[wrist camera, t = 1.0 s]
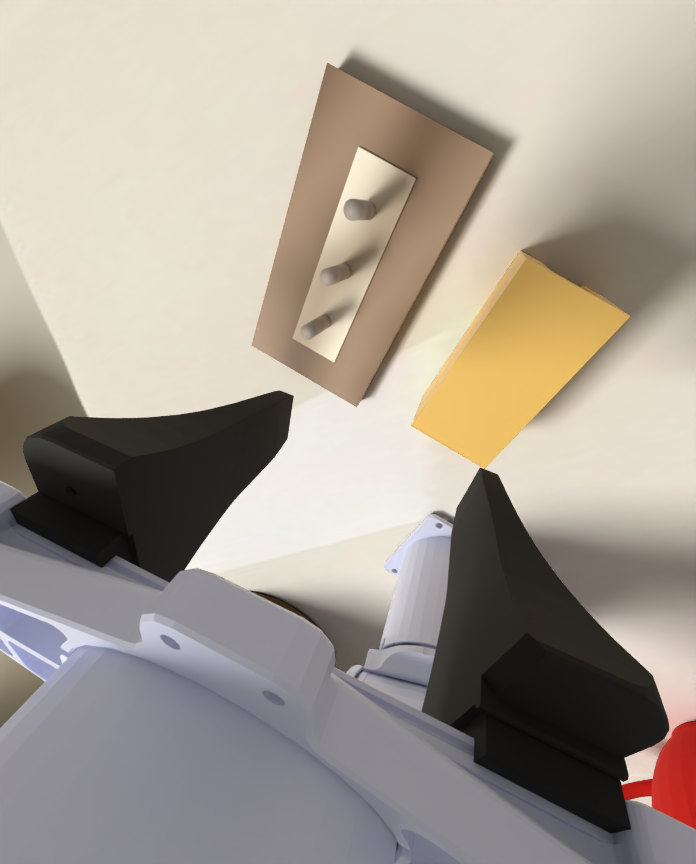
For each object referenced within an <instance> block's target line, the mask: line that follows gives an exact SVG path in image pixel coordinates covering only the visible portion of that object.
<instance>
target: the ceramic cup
mask: <svg viewBox="0 0 696 864" xmlns="http://www.w3.org/2000/svg"><path fill="white" fill-rule="evenodd" d="M621 786H622V790H623V794H624V799H625V800H631V799H634V798H639V797H645V796H652V808H654V809H656V810H658V811H660V812H662V813H664V814H666V815H668V816H670V817H672V818H674V819H676V820H678V821H680V822H682V823H684V824H686V825H688V826H690V827H692V828H694V829H696V721H695V722H689V723H685V724H682V725H680V726H678V727H676V728H675V729H674V731H673V733H672V737H671V738H670V739H669V740H668V742H667V743H666V744H665V746H664V747H663V749H662V751H661V752H660V754H659V757H658V759H657V763H656V766H655V770H654V775H653V779H648V780H642V781H637V782H632V783H628V784H624V785H621Z"/></svg>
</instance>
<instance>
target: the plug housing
mask: <svg viewBox="0 0 696 864" xmlns="http://www.w3.org/2000/svg"><path fill="white" fill-rule="evenodd" d="M630 317H631V316H630V315H628V314H627V313H626V312H624V311H623V310H621V309H620V308H619V307H617V306H616V305H615V304H613V303H612V302H610V301H609V300H608V299H606V298H605V297H603V296H601V295H600V294H598V293H596V292H594V291H592V290H591V289H589V288H587V287H585V286H583V285H582V286H581V287H579V286H578V285H576V284H574V283H572V282H570V281H569V280H567V279H565V278H563V277H561V276H560V275H558V274H556V273H554V272H552V271H551V270H549V269H548V268H547V267H546V266H545V265H544V264H543V263H542V262H540V261H538V260H536V259H535V258H533V257H531V256H529V255H527V254H526V253H524V252H522V251H520V252H519V253H518V255H517V256H516V258H515V259H514V261H513V262H512V264H511V265H510V267H509V268H508V270H507V271H506V273H505V274H504V276H503V277H502V279H501V280H500V282H499V283H498V285H497V286H496V288H495V289H494V291H493V292H492V293H491V295H490V296H489V298H488V299H487V301H486V302H485V304H484V305H483V307H482V308H481V310H480V311H479V313H478V314H477V316H476V317H475V319H474V320H473V322H472V323H471V325H470V326H469V328H468V329H467V331H466V332H465V334H464V335H463V337H462V338H461V340H460V341H459V343H458V344H457V346H456V347H455V349H454V350H453V352H452V353H451V355H450V356H449V358H448V359H447V361H446V362H445V364H444V365H443V367H442V368H441V370H440V371H439V373H438V374H437V375H436V377H435V378H434V380H433V381H432V383H431V384H430V386H429V387H428V389H427V390H426V392H425V393H424V395H423V397H422V399H421V402H420V404H419V407H418V409H417V412H416V414H415V417H414V419H413V422H412V424H411V426H412V427H414V428H416V429H417V430H419V431H421V432H422V433H424V434H426V435H428V436H429V437H431V438H433V439H434V440H436V441H438V442H440V443H441V444H443V445H445V446H446V447H448V448H450V449H451V450H453V451H455V452H457V453H458V454H460V455H462V456H463V457H465V458H467V459H468V460H470V461H472V462H474V463H475V464H477V465H479V466H480V467H482V468H484V469H485V468H486V467H487V466H488V465H489V464H490V463H491V462H492V461H493V459H494V458H495V457H496V456H497V455H498V454H499V453H500V452H501V451H502V450H503V449H504V448H505V447H506V446H507V445H508V444H509V443H510V442H511V441H512V440H513V439H514V438H515V437H516V435H517V434H518V433H519V432H520V431H521V430H522V429H523V428H524V427H525V426H526V425H527V424H528V423H529V422H530V421H531V420H532V419H533V418H534V417H535V416H536V415H537V414H538V413H539V411H540V410H541V409H542V408H543V407H544V406H545V405H546V404H547V403H548V402H549V401H550V400H551V399H552V398H553V397H554V396H555V395H556V394H557V393H558V392H559V391H560V390H561V389H562V387H563V386H564V385H565V384H566V383H567V382H568V381H569V380H570V379H571V378H572V377H573V376H574V375H575V374H576V373H577V372H578V371H579V370H580V369H581V368H582V367H583V366H584V365H585V363H586V362H587V361H588V360H589V359H590V358H591V357H592V356H593V355H594V354H595V353H596V352H597V351H598V350H599V349H600V348H601V347H602V346H603V345H604V344H605V343H606V342H607V341H608V339H609V338H610V337H611V336H612V335H613V334H614V333H615V332H616V331H617V330H618V329H619V328H620V327H621V326H622V325H623V324H624V323H625V322H626V321H627V320H628V319H629V318H630Z"/></svg>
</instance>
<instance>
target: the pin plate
mask: <svg viewBox="0 0 696 864" xmlns="http://www.w3.org/2000/svg"><path fill="white" fill-rule="evenodd" d="M493 156H494V153H493V152H491V151H489V150H487V149H485V148H484V147H482V146H480V145H478V144H476V143H474V142H472V141H471V140H469V139H467V138H465V137H463V136H461V135H460V134H458V133H456V132H454V131H452V130H450V129H448V128H447V127H445V126H443V125H441V124H439V123H437V122H436V121H434V120H432V119H430V118H428V117H426V116H425V115H423V114H421V113H419V112H417V111H415V110H413V109H412V108H410V107H408V106H406V105H404V104H402V103H401V102H399V101H397V100H395V99H393V98H391V97H389V96H388V95H386V94H384V93H382V92H380V91H378V90H377V89H375V88H373V87H371V86H369V85H367V84H365V83H364V82H362V81H360V80H358V79H356V78H354V77H353V76H351V75H349V74H347V73H345V72H343V71H341V70H340V69H338V68H336V67H334V66H332V65H330V64H329V63H327V66H326V70H325V73H324V77H323V81H322V84H321V88H320V92H319V96H318V99H317V103H316V107H315V111H314V114H313V118H312V122H311V126H310V129H309V133H308V137H307V140H306V144H305V148H304V152H303V155H302V159H301V163H300V167H299V170H298V174H297V178H296V182H295V185H294V189H293V193H292V196H291V200H290V204H289V208H288V211H287V215H286V219H285V223H284V226H283V230H282V234H281V238H280V241H279V245H278V249H277V252H276V256H275V260H274V264H273V267H272V271H271V275H270V279H269V282H268V286H267V290H266V294H265V297H264V301H263V305H262V308H261V312H260V316H259V320H258V323H257V327H256V331H255V335H254V338H253V342H252V346H254V347H256V348H257V349H259V350H261V351H262V352H264V353H266V354H267V355H269V356H271V357H273V358H274V359H276V360H278V361H279V362H281V363H283V364H284V365H286V366H288V367H290V368H291V369H293V370H295V371H296V372H298V373H300V374H301V375H303V376H305V377H306V378H308V379H310V380H312V381H313V382H315V383H317V384H318V385H320V386H322V387H323V388H325V389H327V390H329V391H330V392H332V393H334V394H335V395H337V396H339V397H340V398H342V399H344V400H346V401H347V402H349V403H351V404H352V405H354V406H356V407H357V406H358V404H359V403H360V401H361V400H362V398H363V396H364V394H365V393H366V391H367V389H368V387H369V385H370V383H371V381H372V380H373V378H374V376H375V374H376V372H377V370H378V369H379V367H380V365H381V363H382V361H383V359H384V357H385V356H386V354H387V352H388V350H389V348H390V346H391V345H392V343H393V341H394V339H395V337H396V335H397V333H398V332H399V330H400V328H401V326H402V324H403V322H404V321H405V319H406V317H407V315H408V313H409V311H410V309H411V308H412V306H413V304H414V302H415V300H416V298H417V297H418V295H419V293H420V291H421V289H422V287H423V285H424V284H425V282H426V280H427V278H428V276H429V274H430V273H431V271H432V269H433V267H434V265H435V263H436V261H437V260H438V258H439V256H440V254H441V252H442V250H443V249H444V247H445V245H446V243H447V241H448V239H449V237H450V236H451V234H452V232H453V230H454V228H455V226H456V225H457V223H458V221H459V219H460V217H461V215H462V214H463V212H464V210H465V208H466V206H467V204H468V202H469V201H470V199H471V197H472V195H473V193H474V191H475V190H476V188H477V186H478V184H479V182H480V180H481V178H482V177H483V175H484V173H485V171H486V169H487V167H488V166H489V164H490V162H491V160H492V158H493Z"/></svg>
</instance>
